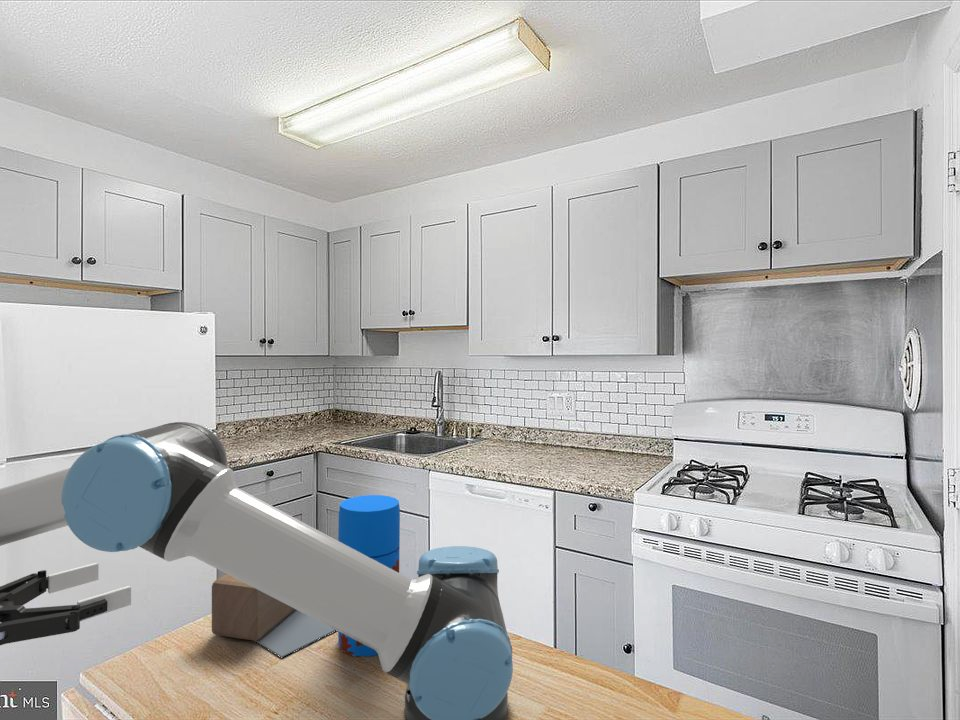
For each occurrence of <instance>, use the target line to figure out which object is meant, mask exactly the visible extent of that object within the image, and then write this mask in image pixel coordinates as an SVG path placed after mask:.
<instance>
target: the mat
mask: <svg viewBox="0 0 960 720" xmlns="http://www.w3.org/2000/svg"><path fill="white" fill-rule="evenodd" d="M334 631H336V630H335V629H333V628H331V627H329V626H327V625H325V624H323V623H321V622H320V621H318V620H316V619H314V618H312V617H310V616H308V615H306V614H304V613H302V612H300V611H298V610H296V609H295V610H294V611H293V612H292V613H290V614H289V615H288V616H287V617H286V618H284V619H283V620H282V621H281V622H280V623H278V624H277V625H276V626H275V627H274V628H273V629H271V630H270V631H269V632H268V633H267V634H265V635H264V636H263V637H262V638H261V639H259V640H252V641H253V642H254V643H256V642H257V643H256V644H258V643H259V644H260V646H261V645H262V646H264V647H266V648H267V649H269V650H270V651H272V652H273V653H272V652H271V653H272V654H274V653H276V654H277V655H279V656H280V657H284V656H286V655H288V654H290V653H292V652H294V651H296V650H298V649H300V648H302V647H304V648H306V647H308V646H310V645H311V644H310V643H312V642H314V641H316V640H318V639H319V638H322V637H324V636H325V635H328V634H330V633H332V632H334ZM336 632H337V631H336ZM334 633H335V632H334ZM332 634H333V633H332ZM330 635H331V634H330ZM328 636H329V635H328ZM324 638H325V637H324ZM322 639H323V638H322ZM318 641H319V640H318ZM316 642H317V641H316ZM314 643H315V642H314ZM259 644H258V645H259ZM309 644H310V645H309ZM312 644H313V643H312ZM307 645H308V646H307ZM262 646H261V647H262ZM305 646H306V647H305ZM264 647H263V648H264ZM266 648H265V649H266ZM267 649H266V650H267ZM302 649H303V648H302ZM269 650H268V651H269ZM300 650H301V649H300ZM270 651H269V652H270ZM298 651H299V650H298ZM296 652H297V651H296ZM294 653H295V652H294ZM292 654H293V653H292ZM277 655H276V656H277ZM290 655H291V654H290ZM288 656H289V655H288ZM280 657H279V658H280ZM286 657H287V656H286ZM284 658H285V657H284Z"/></svg>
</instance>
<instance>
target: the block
mask: <svg viewBox="0 0 960 720" xmlns="http://www.w3.org/2000/svg"><path fill="white" fill-rule="evenodd" d="M294 610H295V609H294V608H292V607H290V606H288V605H286V604H285V603H283V602H281V601H279V600H277V599H275V598H273V597H271V596H269V595H267V594H265V593H263V592H261V591H259V590H257V589H255V588H253V587H252V586H250V585H248V584H246V583H244V582H242V581H240V580H238V579H236V578H234V577H232V576H230V575H228V574H226V573H224V575H222V576H220V577H219V578H217V579H215V580H214V581H213V582H212V585H211V633H212V634H213V635H215V636H221V637H228V638H235V639H241V640H247V641H253V640H259V639H261V638H262V637H263V636H264V635H265V634H267V633H268V632H269V631H270V630H271V629H273V628H274V627H275V626H276V625H277V624H278V623H280V622H281V621H282V620H283V619H284V618H286V617H287V616H288V615H289V614H290V613H292V612H293V611H294Z"/></svg>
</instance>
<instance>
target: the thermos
mask: <svg viewBox="0 0 960 720" xmlns="http://www.w3.org/2000/svg"><path fill="white" fill-rule="evenodd" d="M400 523H401V509H400V500H399V499H397V498H396V497H392V496H389V495H382V494H370V495H369V494H367V495H366V494H365V495H359V496H353V497H349V498H346V499H345V500H342V501H341V502H340V504H339V510H338V528H337V529H338V531H337V532H338V536H337V537H338V539H337V541H339V542H341V543H343V544H345V545H347V546H349V547H351V548H353V549H354V550H356V551H358V552H360V553H362V554H364V555H366V556H368V557H370V558H371V559H373V560H375V561H377V562H379V563H381V564H383V565H385V566H387V567H389V568H390V569H392V570H394V571H396V572H398V573H400V543H401V542H400V539H401V538H400V536H401V535H400V534H401V533H400V529H401V527H400V526H401V525H400ZM337 632H338V633H337V634H338V646H339V648H340V651H342V650H343V651H345V652H346V653H345V652H344V653H345V654H347V655H349V654H350V656H353V655H354V657H357V656H363V657H364V656H366V657H368V658H369V657H373V656H379V655H378V653H377V652H376V650H374V649H372V648H370V647H368V646H366V645H364V644H362V643H360V642H358V641H356V640H354V639H353V638H351V637H349V636H347V635H345V634H343V633H341V632H339V631H337ZM343 651H342V652H343ZM366 657H365V658H366Z"/></svg>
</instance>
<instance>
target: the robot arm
mask: <svg viewBox="0 0 960 720" xmlns="http://www.w3.org/2000/svg"><path fill="white" fill-rule="evenodd" d="M236 482H237V481H236V478H235V474H234V470H233V469H231V467H229V466H228V458H227V452H226V449H225V446H224V445H223V443H222V441H221V439H220V438H219V437H218V436H217V435H216V434H215V433H214V432H212V431H211V430H210V429H208V428H206V427H204V426H203V425H201V424H198V423H193V422H188V421H175V422H169V423H165V424H162V425H158V426H155V427H151V428H147V429H143V430H140V431H135V432H131V433H127V434H120V435H114V436H112V437H109V438H108V439H106V440H105V441H103V442H101V443H97V444H95V445H94V446H91V447H89V448H88V449H86V450H85V451H84V452H83V453H82V454H80V456H78V457H77V458H76V459H75V461H74V462H73V464H72V465H71V466H70V467H69V468H65V469H62V470H58V471H56V472H52V473H48V474H45V475H42V476H39V477H36V478H31V479H29V480H25V481H21V482H18V483H16V484H12V485H9V486H6V487H3V488H0V546H4V545H8V544H11V543H15V542H18V541H21V540H24V539H28V538H31V537H34V536H37V535H41V534H44V533H48V532H51V531H54V530H57V529H61V528H65V527H68V528H69V530H70V531H71V532H72V533H73V535H74V536H75V537H76V538H77V539H79V540H80V541H81V542H82V543H84V544H85V545H86V546H88V547H89V548H92V549H95V550H97V551H101V552H107V553H118V552H126V551H130V550H135V549H136V548H138V547H139V548H141V549H143V550H145V551H147V552H149V553H150V554H153V555H155V556H157V557H158V558H161V559H162V560H164V561H166V562H172V561H176V560H179V559H183V558H187V557H192V558H195V559H197V560H199V561H202V563H206V564H207V565H209V566H211V567H213V568H215V569H216V570H219V571H221V573H222V572H223V573H224V574H228V575H230V576H232V577H234V578H236V579H238V580H240V581H242V582H244V583H246V584H248V585H250V586H252V587H253V588H255V589H257V590H259V591H261V592H263V593H265V594H267V595H269V596H271V597H273V598H275V599H277V600H279V601H281V602H283V603H285V604H286V605H288V606H290V607H292V608H294V609H296V610H298V611H300V612H302V613H304V614H306V615H308V616H310V617H312V618H314V619H316V620H318V621H320V622H321V623H323V624H325V625H327V626H329V627H331V628H333V629H335V630H337V631H336V632H338V631H339V632H341V633H343V634H345V635H347V636H349V637H351V638H353V639H354V640H356V641H358V642H360V643H362V644H364V645H366V646H368V647H370V648H372V649H374V650H376V652H377V653H378V655H377V656H378V659H379V662H380V667H381V669H382V672H384V673H385V674H388V675H389V676H392V677H394V678H396V679H397V680H399V681H401V682H404V683H405V684H407V686H406V688H405V694H404V713H405V715H404V716H405V718H406V720H505V719H506V717H507V715H508V710H509V709H508V708H509V707H508V700H509V698H508V697H509V696H508V694H509V693H508V691H509V689H510V686H511V683H512V679H513V672H514V669H513V668H514V667H513V666H514V664H513V663H514V662H513V646H512V644H511V643H512V642H511V639H510V637H509V635H508V631H507V627H506V623H505V619H504V614H503V611H502V610H503V609H502V606H501V603H500V600H499V591H498V574H499V572H500V569H498V567H499V566H498V558H497V556H496V554H494V553H493V552H491V550H488V549H484V548H482V547H481V548H480V547H476V546H466V545H465V546H460V545H458V546H453V545H452V546H451V545H450V546H442V547H437V548H433V549H429V550H427V551H426V552H424V553H423V554H421V556H420V558H419V559H418V560H419V561H418V570H417V571H416V574H417V577H415V578H409V577H407V576H405V575H404V574H402V573H400V572H399V573H398V572H396V571H394V570H392V569H390V568H389V567H387V566H385V565H383V564H381V563H379V562H377V561H375V560H373V559H371V558H370V557H368V556H366V555H364V554H362V553H360V552H358V551H356V550H354V549H353V548H351V547H349V546H347V545H345V544H343V543H341V542H339V541H338V539H335V538H334V537H331V536H329V535H328V534H326V533H324V532H322V531H320V530H318V529H317V528H314V527H313V526H311V525H309V524H307V523H305V522H303V521H302V520H300V519H298V518H297V517H294V516H292V515H290V514H288V513H287V512H284V511H283V510H280V509H279V508H277V507H275V506H273V505H271V504H270V503H267V502H265V501H264V500H262V499H260V498H258V497H256V496H254V495H252V494H250V493H248V492H246V491H244V490H243V489H241V488H239V487H238V485H237V483H236ZM95 581H99V563H98V562H94V563H93V562H92V563H90V564H86V565H81V566H77V567H74V568H70V569H67V570H63V571H58V572H56V573H51V574H48V575H47V570H45V569H43V570H42V569H41V570H39V571H37V573H36V572H35V573H31V574H27V575H26V576H23V577H20V578H18V579H15V580H12V581H10V582H8V583H6V584H3V585H0V646H3V645H6V644H12V643H18V642H23V641H30V640H35V639H42V638H46V637H51V636H57V635H65V634H69V633H74V632H76V631H78V630H80V628H81V623H80V622H82V621H86V620H88V619H91V618H95V617H97V616H101V615H104V614H107V613H110V612H113V611H116V610H120V609H122V608H125V607H128V606H131V605H132V586H131V585H127V586H123V587H119V588H115V589H113V590H110V591H106V592H103V593H100V594H95V595H94V596H90V597H86V598H83V599H80V600H77V602H76V604H69V605H58V606H57V605H54V606H42V607H29V608H26V607H25V606H24V605H26V604H27V603H29V602H31V601H32V600H34V599H36V598H37V597H39V596H40V595H43V594H44V593H45V592H47V593H48V594H53V593H57V592H61V591H63V590H68V589H70V588H71V589H72V588H75V587H77V586H81V585H85V584H88V583H91V582H95Z"/></svg>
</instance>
